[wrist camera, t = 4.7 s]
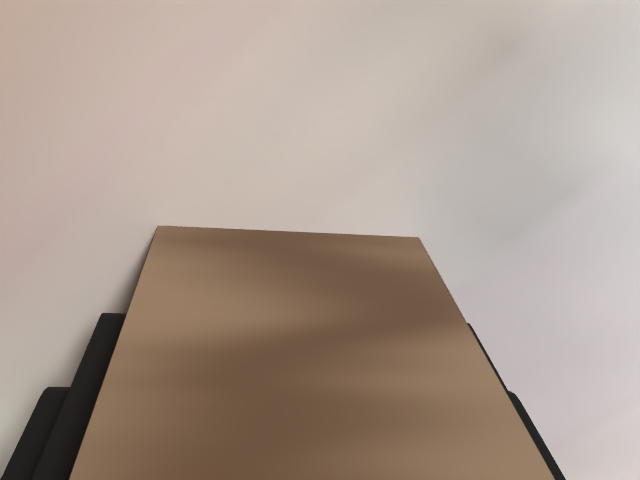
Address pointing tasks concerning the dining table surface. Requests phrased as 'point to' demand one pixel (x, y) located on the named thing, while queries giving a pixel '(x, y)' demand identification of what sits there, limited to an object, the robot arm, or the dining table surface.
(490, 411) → the walnut block
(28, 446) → the robot arm
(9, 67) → the dining table surface
